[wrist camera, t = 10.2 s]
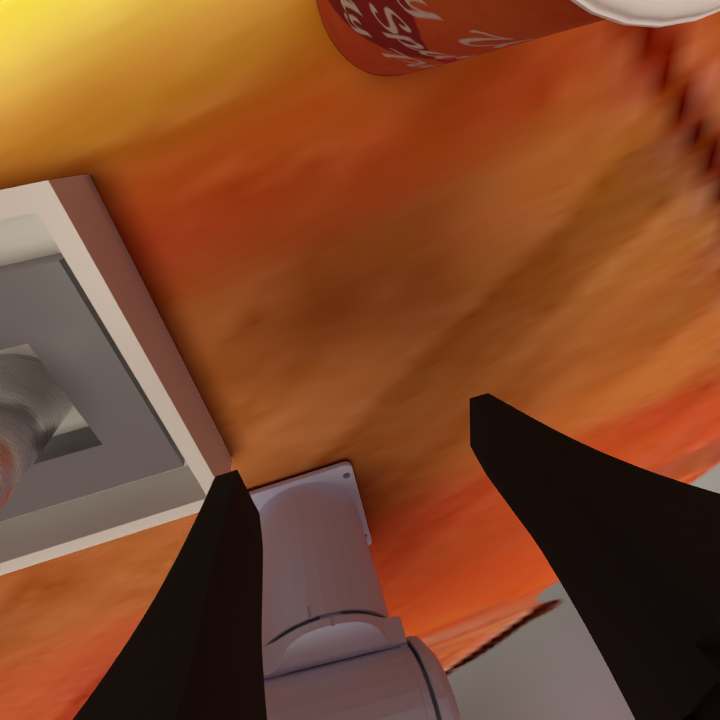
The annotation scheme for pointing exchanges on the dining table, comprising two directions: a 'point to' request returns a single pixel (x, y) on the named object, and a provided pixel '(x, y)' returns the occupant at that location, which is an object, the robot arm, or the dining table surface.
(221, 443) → the box
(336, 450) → the dining table surface
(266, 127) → the dining table surface
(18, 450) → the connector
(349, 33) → the paper cup
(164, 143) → the dining table surface
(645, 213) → the dining table surface
